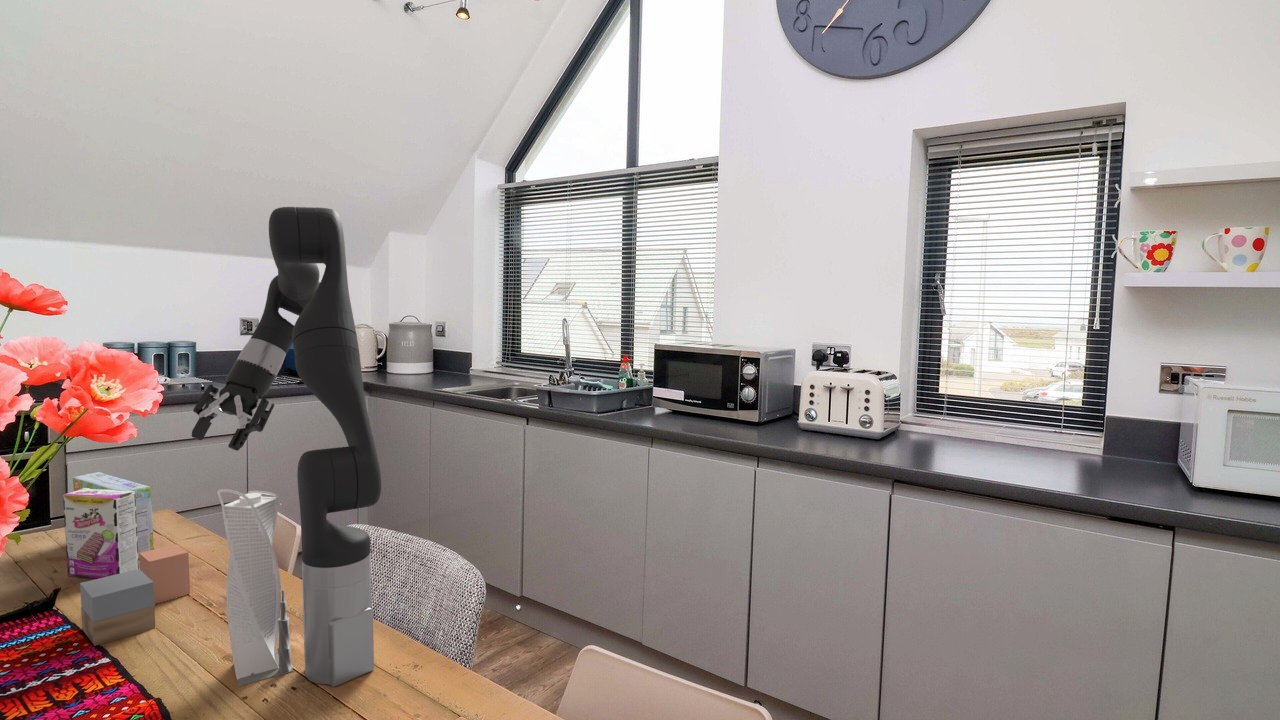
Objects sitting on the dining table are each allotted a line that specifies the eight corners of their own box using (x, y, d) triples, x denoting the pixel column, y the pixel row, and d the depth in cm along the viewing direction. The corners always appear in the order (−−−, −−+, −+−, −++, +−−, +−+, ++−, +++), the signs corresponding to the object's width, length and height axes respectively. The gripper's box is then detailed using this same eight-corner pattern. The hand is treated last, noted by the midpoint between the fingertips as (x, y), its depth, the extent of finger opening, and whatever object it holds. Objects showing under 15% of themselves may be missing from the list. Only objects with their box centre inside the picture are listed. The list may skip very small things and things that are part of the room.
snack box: (74, 544, 148) (70, 476, 147) (104, 536, 153) (101, 470, 152) (126, 564, 138) (123, 491, 137) (157, 555, 143) (153, 484, 142)
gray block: (154, 605, 112) (153, 582, 112) (93, 622, 106) (92, 597, 106) (140, 591, 118) (139, 568, 117) (81, 606, 111) (80, 583, 111)
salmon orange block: (190, 594, 125) (188, 552, 124) (151, 605, 121) (149, 561, 120) (179, 585, 129) (177, 544, 128) (140, 595, 124) (138, 552, 124)
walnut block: (155, 629, 113) (154, 605, 112) (94, 647, 107) (93, 622, 106) (140, 613, 118) (139, 591, 117) (82, 630, 112) (80, 607, 111)
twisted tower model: (226, 691, 96) (219, 496, 93) (221, 666, 102) (214, 483, 100) (293, 673, 101) (288, 487, 98) (284, 649, 107) (279, 475, 105)
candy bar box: (65, 577, 131) (60, 494, 130) (88, 567, 136) (84, 487, 134) (119, 581, 130) (114, 497, 128) (140, 571, 135) (136, 489, 133)
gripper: (214, 351, 132) (169, 428, 126) (275, 366, 128) (232, 446, 122) (240, 367, 139) (198, 441, 132) (298, 382, 135) (258, 458, 129)
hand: (214, 443), depth 127 cm, fingers open, 8 cm apart
